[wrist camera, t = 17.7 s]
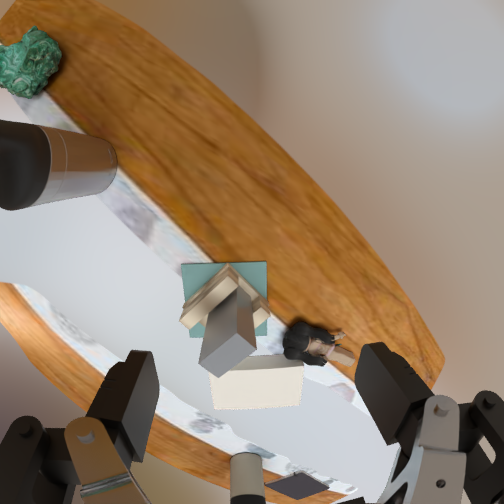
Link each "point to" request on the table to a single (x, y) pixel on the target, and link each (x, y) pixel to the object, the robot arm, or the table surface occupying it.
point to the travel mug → (246, 479)
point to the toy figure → (314, 346)
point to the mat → (202, 272)
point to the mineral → (29, 63)
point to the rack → (222, 298)
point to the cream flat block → (259, 383)
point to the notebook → (297, 485)
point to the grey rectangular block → (228, 333)
